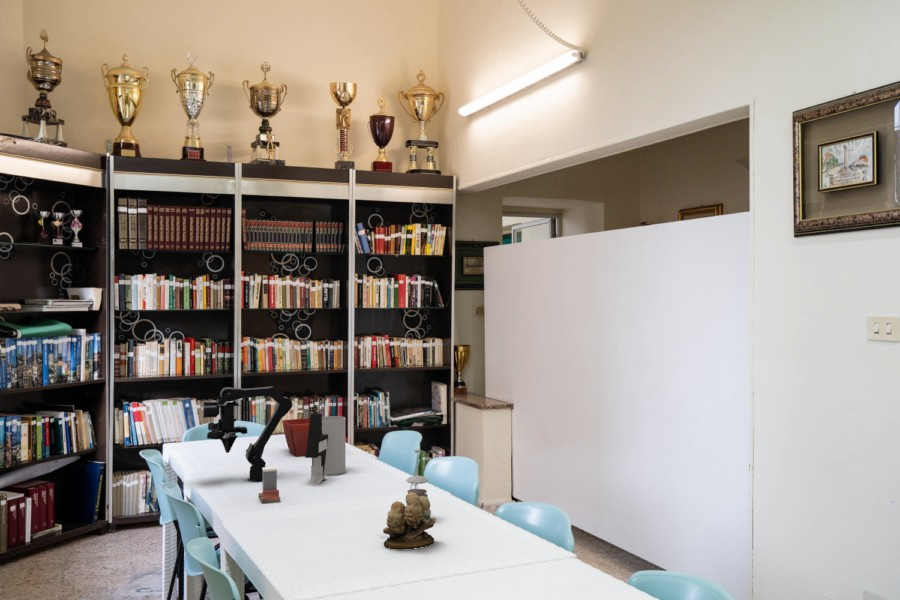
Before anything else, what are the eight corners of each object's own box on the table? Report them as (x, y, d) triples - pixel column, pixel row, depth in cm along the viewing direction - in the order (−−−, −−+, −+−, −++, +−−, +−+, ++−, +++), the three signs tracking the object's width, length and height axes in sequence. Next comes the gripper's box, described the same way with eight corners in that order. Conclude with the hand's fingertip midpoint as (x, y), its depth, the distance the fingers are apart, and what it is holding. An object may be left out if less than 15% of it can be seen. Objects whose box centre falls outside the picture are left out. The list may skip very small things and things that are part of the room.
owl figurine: (428, 535, 269) (428, 485, 269) (443, 545, 259) (443, 493, 259) (377, 542, 262) (378, 490, 262) (391, 553, 251) (391, 498, 251)
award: (316, 486, 340) (316, 415, 339) (304, 485, 341) (304, 415, 341) (328, 478, 354) (328, 410, 354) (317, 477, 355) (317, 410, 355)
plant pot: (281, 452, 416) (281, 419, 416) (317, 449, 424) (317, 417, 424) (290, 458, 398) (290, 424, 398) (327, 455, 406) (327, 422, 406)
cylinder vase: (348, 470, 372) (348, 416, 372) (341, 476, 359) (341, 420, 359) (321, 469, 373) (321, 415, 373) (314, 475, 361) (314, 420, 360)
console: (258, 496, 321) (258, 485, 321) (276, 495, 324) (276, 484, 324) (262, 503, 311) (262, 491, 311) (280, 501, 313) (280, 490, 313)
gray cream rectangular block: (262, 494, 318) (262, 467, 318) (275, 493, 319) (275, 466, 319) (263, 497, 314) (263, 469, 314) (277, 496, 315) (277, 468, 315)
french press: (406, 522, 285) (406, 452, 285) (400, 513, 296) (400, 446, 296) (433, 520, 288) (433, 450, 288) (425, 512, 299) (425, 445, 299)
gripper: (229, 412, 358) (229, 447, 358) (197, 418, 342) (197, 454, 342) (248, 414, 353) (248, 449, 353) (216, 420, 337) (216, 457, 337)
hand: (227, 452), depth 346 cm, fingers closed
